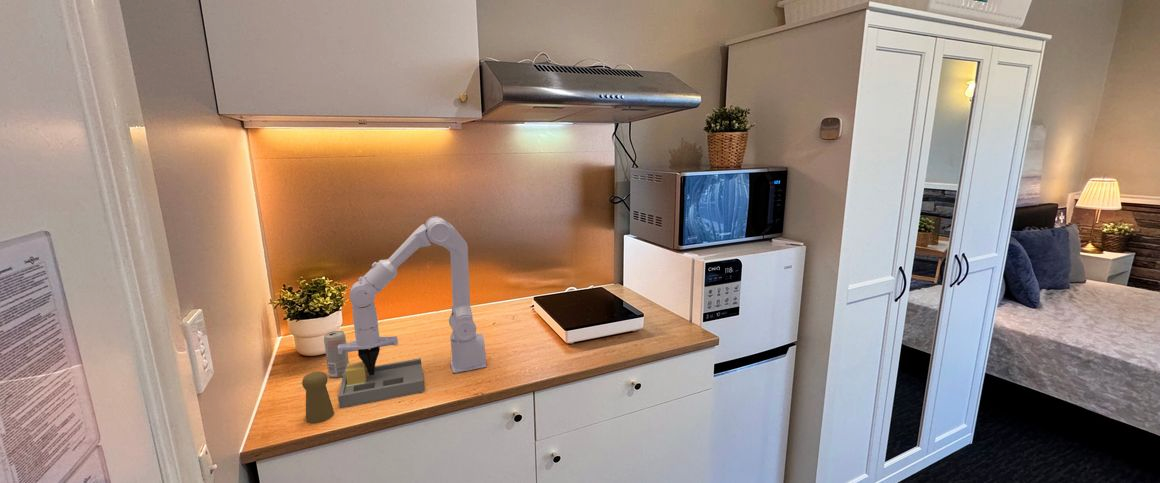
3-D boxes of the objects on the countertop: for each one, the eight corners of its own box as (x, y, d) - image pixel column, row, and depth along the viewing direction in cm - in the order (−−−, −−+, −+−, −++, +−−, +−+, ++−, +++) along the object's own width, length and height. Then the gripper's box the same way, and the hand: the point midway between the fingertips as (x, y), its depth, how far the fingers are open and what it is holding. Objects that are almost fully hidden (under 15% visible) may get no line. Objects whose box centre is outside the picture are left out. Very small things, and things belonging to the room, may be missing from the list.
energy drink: (344, 367, 136) (339, 329, 134) (353, 372, 133) (348, 333, 130) (325, 374, 132) (320, 335, 130) (334, 380, 129) (328, 339, 126)
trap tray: (421, 368, 135) (420, 358, 134) (424, 391, 122) (423, 380, 121) (345, 382, 128) (343, 371, 127) (339, 408, 115) (337, 396, 114)
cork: (310, 411, 114) (304, 369, 112) (337, 407, 115) (331, 366, 113) (301, 425, 108) (295, 382, 106) (330, 421, 110) (324, 378, 107)
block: (367, 374, 128) (365, 360, 127) (366, 381, 124) (364, 368, 123) (348, 377, 126) (347, 363, 125) (347, 385, 122) (345, 371, 121)
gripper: (395, 317, 129) (400, 362, 132) (337, 325, 124) (343, 371, 127) (395, 326, 123) (400, 373, 126) (334, 334, 118) (340, 384, 121)
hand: (372, 373), depth 126 cm, fingers closed
